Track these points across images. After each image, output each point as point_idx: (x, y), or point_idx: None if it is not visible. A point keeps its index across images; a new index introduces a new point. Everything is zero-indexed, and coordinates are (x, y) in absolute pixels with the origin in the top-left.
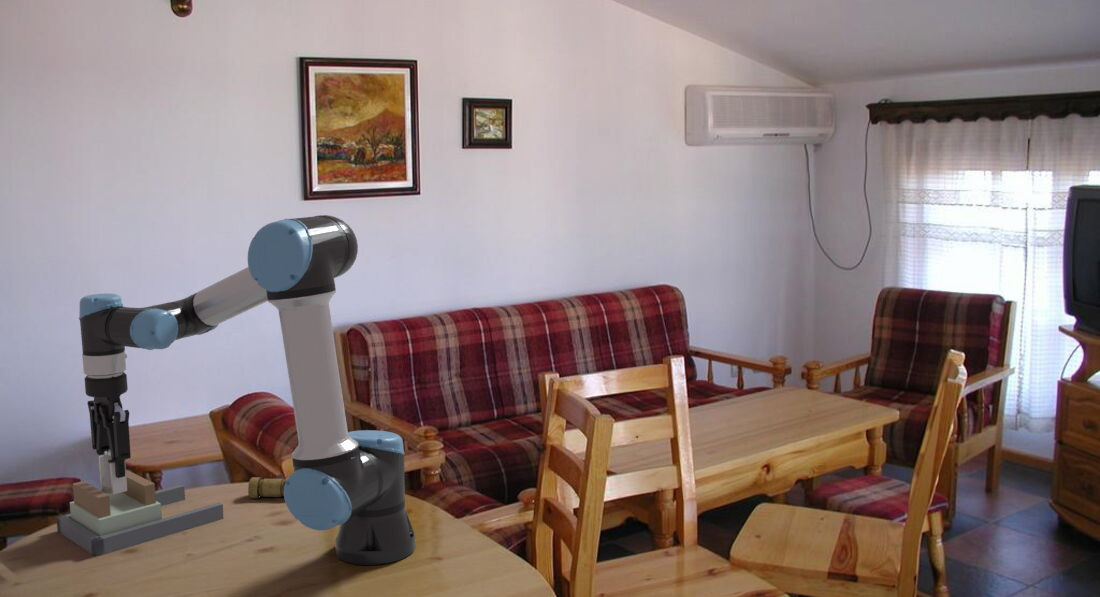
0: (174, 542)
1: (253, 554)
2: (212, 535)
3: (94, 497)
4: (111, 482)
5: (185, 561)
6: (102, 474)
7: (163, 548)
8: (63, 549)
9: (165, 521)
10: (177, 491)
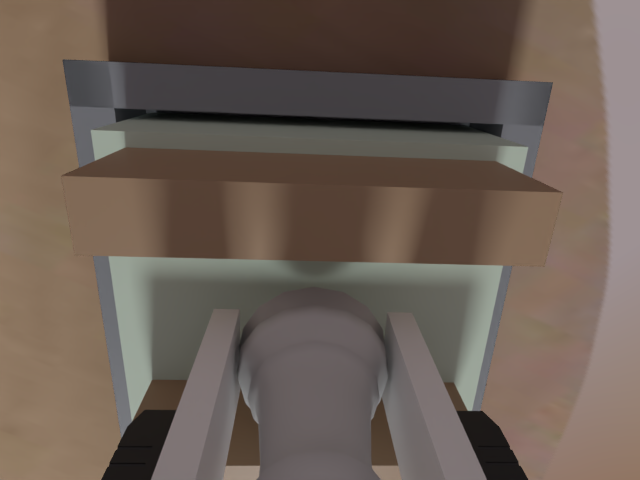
0: (104, 336)
1: None
2: (82, 431)
3: (150, 175)
4: (219, 356)
5: None
6: (406, 379)
7: (73, 291)
8: (347, 27)
9: (112, 374)
10: None
